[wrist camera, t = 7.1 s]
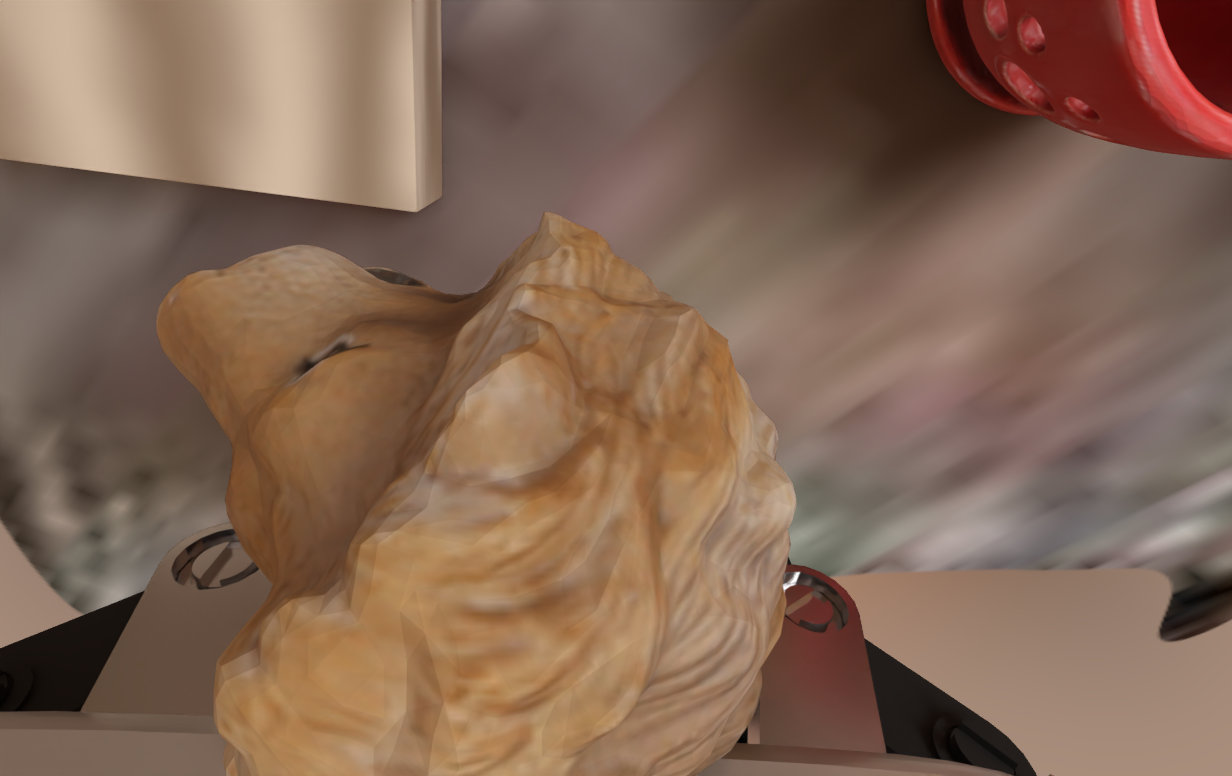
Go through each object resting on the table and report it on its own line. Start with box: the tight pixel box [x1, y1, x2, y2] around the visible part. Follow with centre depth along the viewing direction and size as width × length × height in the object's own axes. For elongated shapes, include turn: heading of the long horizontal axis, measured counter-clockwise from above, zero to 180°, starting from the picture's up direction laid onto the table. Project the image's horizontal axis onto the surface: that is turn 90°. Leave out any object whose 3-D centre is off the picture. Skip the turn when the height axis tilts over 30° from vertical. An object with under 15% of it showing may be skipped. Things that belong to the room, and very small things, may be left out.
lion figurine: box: [156, 212, 796, 776], centre depth 9 cm, size 15×5×9 cm, turn 168°
